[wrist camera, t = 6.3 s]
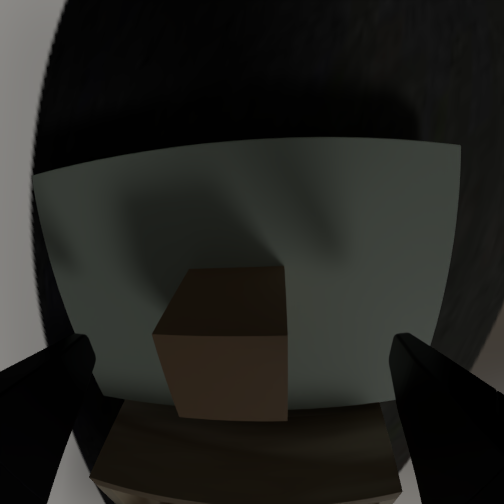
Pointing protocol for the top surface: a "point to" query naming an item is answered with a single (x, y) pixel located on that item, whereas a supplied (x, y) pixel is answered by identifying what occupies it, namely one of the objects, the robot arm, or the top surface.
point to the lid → (253, 268)
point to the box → (248, 458)
